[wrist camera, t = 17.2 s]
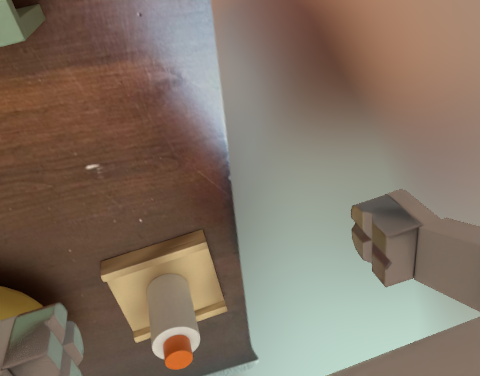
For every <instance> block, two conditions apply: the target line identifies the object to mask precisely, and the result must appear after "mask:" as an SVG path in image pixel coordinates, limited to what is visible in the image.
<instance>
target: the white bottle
mask: <svg viewBox="0 0 480 376" xmlns="http://www.w3.org/2000/svg"><path fill="white" fill-rule="evenodd" d="M147 301H148V311H149V322H150V333H151V343H152V350H153V352H154V354H155V355H156V356H157V357H159V358H162V359H164V360H165V365H166V366H167V367H168V368H170V369H181V368H184V367H186V366H188V365H189V364H190V363H191V362H192V359H193V354H192V352H193V351H195V349H196V348H197V347H198V345H199V343H200V335H199V330H198V325H197V321H196V316H195V312H194V307H193V303H192V298H191V294H190V289H189V285H188V282H187V280H186V279H185V278H184V277H182V276H180V275H177V274H165V275H161V276H159V277H157V278H155V279H154V280H153V281H152V282H151V283H150V284H149V286H148V288H147Z"/></svg>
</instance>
